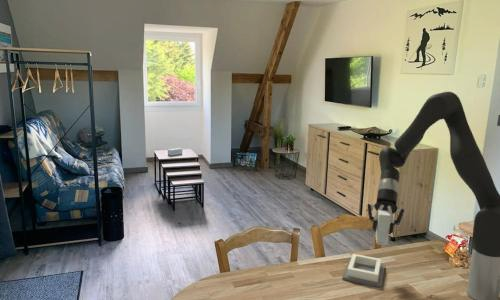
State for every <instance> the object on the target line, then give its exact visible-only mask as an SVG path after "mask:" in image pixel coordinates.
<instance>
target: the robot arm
mask: <svg viewBox="0 0 500 300" xmlns="http://www.w3.org/2000/svg"><path fill="white" fill-rule="evenodd" d="M440 120H444V123H445V124H446V127H447V128H448V129H447V130H448V132H449V153H450V159H451V161H452V163H453V165H454V168H455V171H456V172H457V174H458V176H459V178H461V180H462V181H463V182H464V183H465V184H466V185H467V186H468V188H469V189H470V191H471V192H472V193H473V195H474V197H475V199H476V202H477V204H478V207H479V211H478V212H476V214H475V217H474V221H473V226H472V228H473V229H472V238H471V239H472V243H473V244H472V251H471V260H470V265H469V266H470V267H469V271H468V281H467V286H466V294H467V295H468V296H469V298H471V299H473V300H500V193H499V191H498V190H497V187H496V185H495V183H494V179H493V177H492V175H491V173H490V171H489V168H488V166H487V163H486V161H485V158H484V156H483V154H482V151H481V149H480V148H479V145H478V144H477V141H476V139H475V136H474V134H473V132H472V130H471V127H470V125H469V122H468V119H467V117H466V112H465V110H464V106H463V103H462V102H461V99H460V98H459V96H458V95H457V94H456V93H454V92H452V91H443V92H439V93H435V94H433V95H430V96H429V97H428V98H427V99H426V101H425V102H424V104H422V106H421V108H420V109H419V111H418V113H417V115H416V116H415V117H414V119H413V121H412V122H411V123H410V125H409V126H408V127H406V129H405V131H403V132H402V134H401V135H400V136H398V138H397V139H396V141H395V142H394V148H392V147H390V146H385V147H383V148H382V149H381V150H380V151H379V155H378V160H379V161H378V162H379V166H380V178H379V179H380V180H379V184H378V188H377V189H378V190H377V196H376V202H375V203H374V204H369V203H368V204H367V205H366V206H367V212H368V220H369V221H370V222H371V221H372V230H373V232H374V233H376V229H377V219H378V209H379V210H381V211H382V210H386V211H388V212H390V215H391V219H390V228H389V236H390V235H392V234H393V233H394V228H395V226H396V225H397V226H399V225H400V223H401V221H402V219H403V217H404V214H405V209H404V208H401V209H400V208H398V204H397V203H398V196H399V182H400V171H399V170H398V169H400V168H402V167H403V166H404V165H405V164H406V162H407V159H408V158H409V156H410V153H411V152H413V150H414V149H415V148H416V147H417V146H418V145H419V144H420V143H421V142H422V140H423V138H424V136H425V134H426V132H427V131H428V129H430V127H431V126H433V125H434V124H436V123H437V122H438V121H440ZM374 209H375V210H376V213H375V215H374V216H373V213H372V212H373V211H374ZM395 213H397V218H396V219H395V218H394V214H395Z"/></svg>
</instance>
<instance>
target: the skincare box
mask: <svg viewBox="0 0 500 300" xmlns="http://www.w3.org/2000/svg"><path fill="white" fill-rule="evenodd" d="M390 219H391V215H390V212H388V211H386V210H382V211H381V210H379V209H378V219H377V229H376V232H375V237H374V238H375V242H376V244H377V245H383V246H389V237H390V234H389V228H390Z"/></svg>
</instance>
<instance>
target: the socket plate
mask: <svg viewBox="0 0 500 300" xmlns="http://www.w3.org/2000/svg"><path fill="white" fill-rule="evenodd" d="M385 266H386V265H385V264H384V263H383V264H382V259H381V258H378V257H372V256H368V255H362V254H356V253H352V254H351V257H349V258H348V261H347V264H346V266H345V269H344V271H343V275H342V278H341V279H342V280H344V281H348V282H353V283H358V284H361V285H362V284H363V285H367V286H371V287H376V288H382V284H383V279H384V273H385V268H386V267H385Z"/></svg>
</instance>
